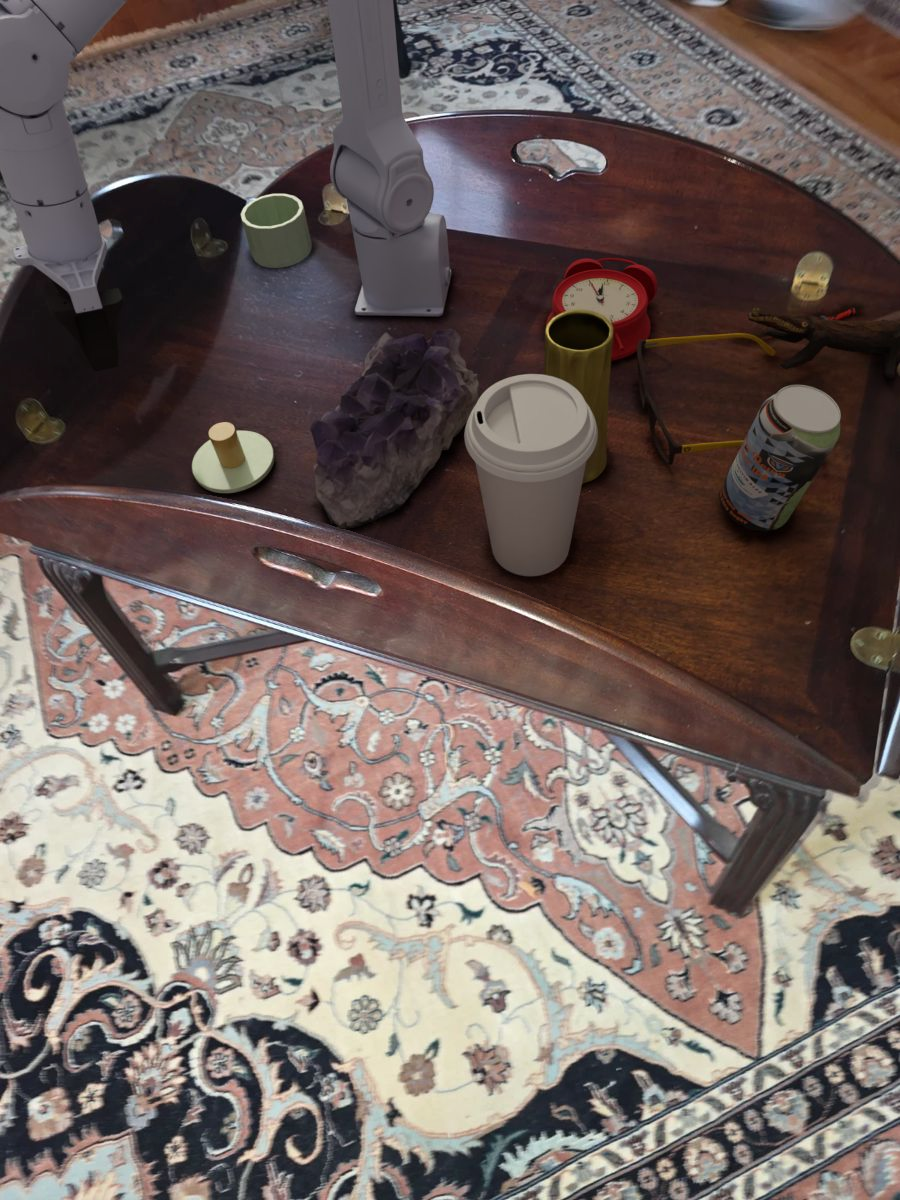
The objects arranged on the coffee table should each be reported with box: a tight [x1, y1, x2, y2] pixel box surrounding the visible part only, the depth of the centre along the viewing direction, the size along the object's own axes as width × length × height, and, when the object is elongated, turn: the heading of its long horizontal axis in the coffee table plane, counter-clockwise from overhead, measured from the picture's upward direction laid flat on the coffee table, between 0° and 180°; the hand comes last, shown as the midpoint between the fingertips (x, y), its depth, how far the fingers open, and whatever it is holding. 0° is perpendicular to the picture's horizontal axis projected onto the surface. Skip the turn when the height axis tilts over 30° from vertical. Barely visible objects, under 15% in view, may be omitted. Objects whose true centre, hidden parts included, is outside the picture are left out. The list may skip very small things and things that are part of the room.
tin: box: [240, 193, 313, 269], centre depth 100 cm, size 7×7×5 cm
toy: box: [747, 307, 900, 379], centre depth 82 cm, size 23×7×5 cm, turn 87°
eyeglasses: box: [636, 332, 777, 466], centre depth 79 cm, size 14×14×4 cm
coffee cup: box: [463, 373, 598, 577], centre depth 67 cm, size 10×10×15 cm
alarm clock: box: [545, 257, 659, 362], centre depth 88 cm, size 10×6×15 cm
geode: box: [309, 328, 480, 530], centre depth 77 cm, size 20×12×10 cm, turn 155°
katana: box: [746, 307, 857, 343], centre depth 87 cm, size 13×2×1 cm, turn 105°
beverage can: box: [718, 384, 842, 532], centre depth 69 cm, size 6×7×12 cm
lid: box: [191, 421, 275, 494], centre depth 80 cm, size 8×8×5 cm
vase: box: [543, 309, 613, 485], centre depth 73 cm, size 6×6×14 cm
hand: (96, 343), depth 77 cm, fingers open, 7 cm apart
